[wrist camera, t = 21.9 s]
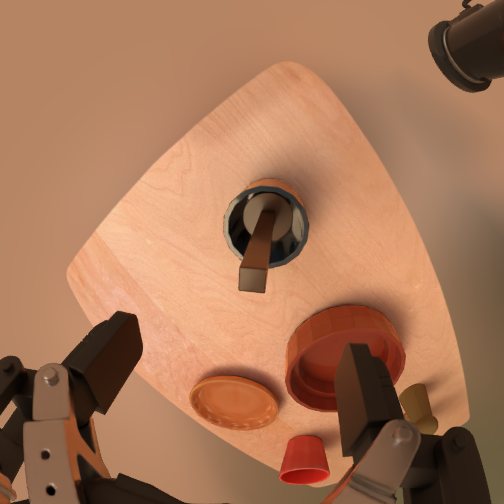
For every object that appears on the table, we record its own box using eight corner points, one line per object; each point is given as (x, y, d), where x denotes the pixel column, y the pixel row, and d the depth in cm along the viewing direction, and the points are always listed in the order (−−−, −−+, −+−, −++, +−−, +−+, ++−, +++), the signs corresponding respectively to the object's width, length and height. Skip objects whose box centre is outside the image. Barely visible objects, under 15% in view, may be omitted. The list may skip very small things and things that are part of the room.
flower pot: (271, 446, 50) (268, 480, 41) (299, 427, 46) (299, 465, 37) (308, 455, 51) (308, 487, 42) (337, 437, 47) (340, 472, 38)
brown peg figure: (421, 399, 41) (435, 438, 31) (396, 405, 42) (408, 447, 32) (428, 380, 39) (447, 421, 29) (402, 387, 40) (418, 431, 30)
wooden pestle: (250, 185, 31) (204, 229, 13) (293, 188, 30) (308, 238, 13) (247, 226, 33) (205, 314, 15) (289, 230, 32) (294, 325, 14)
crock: (239, 175, 31) (225, 183, 24) (305, 181, 30) (313, 190, 23) (235, 238, 34) (222, 263, 26) (298, 244, 33) (302, 271, 26)
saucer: (283, 419, 46) (283, 430, 43) (207, 419, 48) (204, 429, 46) (273, 365, 41) (271, 378, 38) (181, 367, 43) (176, 379, 40)
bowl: (295, 298, 36) (296, 324, 30) (407, 305, 34) (423, 328, 29) (279, 383, 42) (278, 410, 36) (373, 385, 41) (380, 410, 35)
